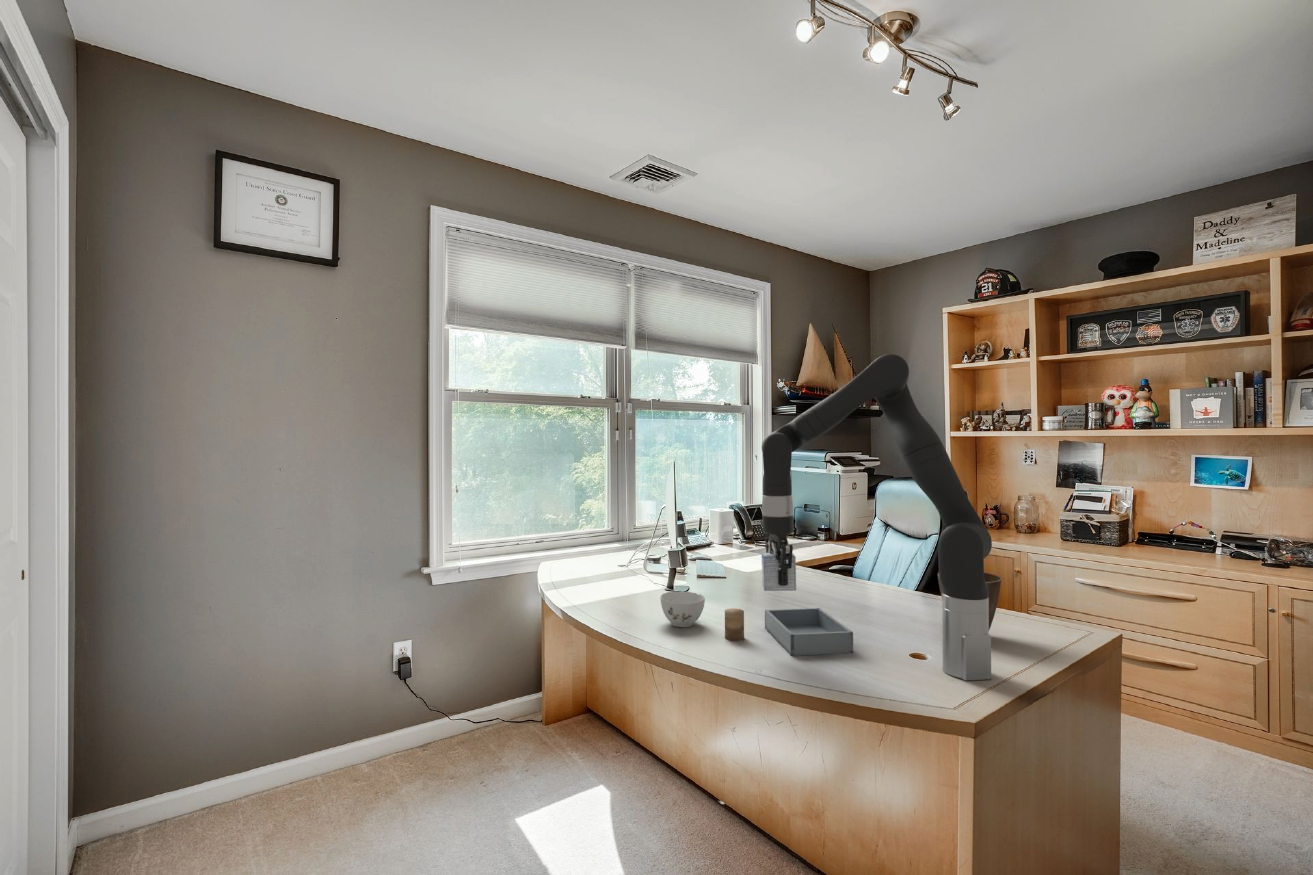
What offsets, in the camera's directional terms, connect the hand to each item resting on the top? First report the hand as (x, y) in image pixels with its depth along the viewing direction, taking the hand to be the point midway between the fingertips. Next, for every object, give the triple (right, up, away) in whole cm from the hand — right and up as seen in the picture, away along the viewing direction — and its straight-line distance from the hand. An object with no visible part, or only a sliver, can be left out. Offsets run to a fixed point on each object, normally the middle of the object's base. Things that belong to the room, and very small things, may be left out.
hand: (779, 582), depth 153 cm
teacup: (-22, -17, +22) cm, 36 cm away
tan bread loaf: (-10, -17, +10) cm, 22 cm away
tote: (+9, -17, +8) cm, 20 cm away
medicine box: (0, -2, 0) cm, 2 cm away
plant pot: (+52, -17, +10) cm, 55 cm away
